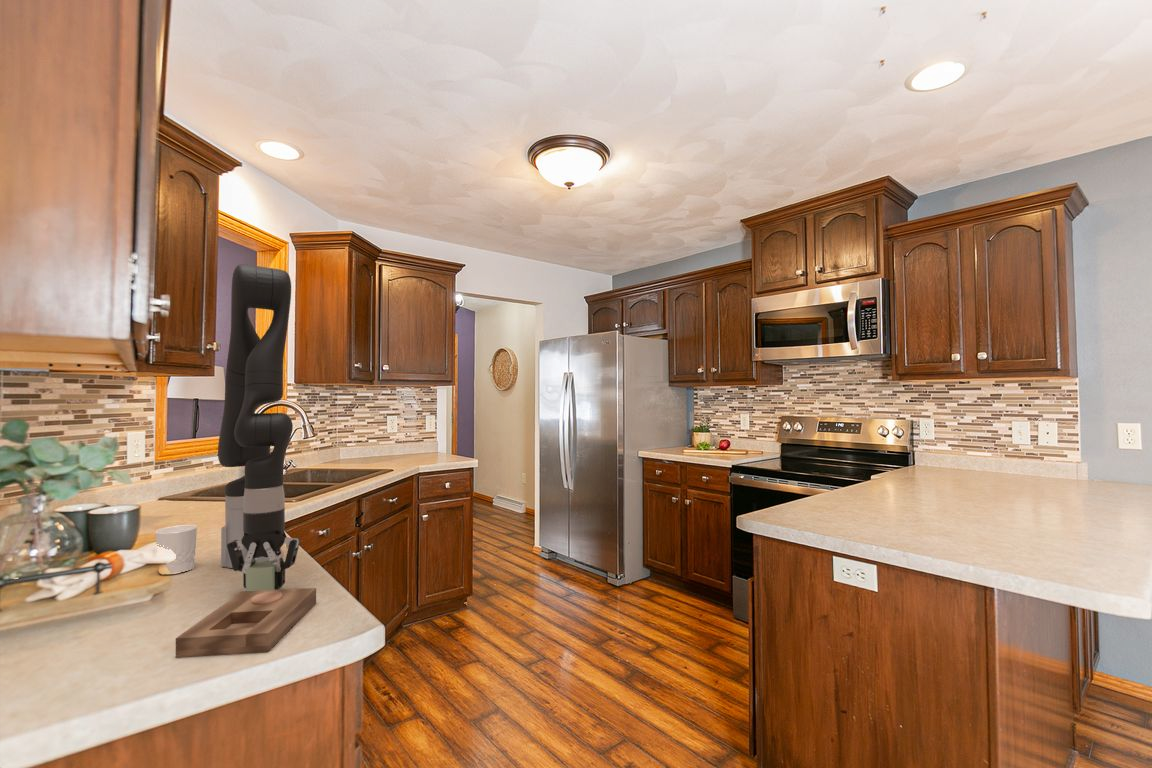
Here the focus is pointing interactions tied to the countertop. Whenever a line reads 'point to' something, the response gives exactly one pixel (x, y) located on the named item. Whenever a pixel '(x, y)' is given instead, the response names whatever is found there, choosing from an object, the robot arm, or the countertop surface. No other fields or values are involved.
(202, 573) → the countertop surface
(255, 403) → the robot arm
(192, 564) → the white cup
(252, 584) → the green block
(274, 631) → the puzzle board
